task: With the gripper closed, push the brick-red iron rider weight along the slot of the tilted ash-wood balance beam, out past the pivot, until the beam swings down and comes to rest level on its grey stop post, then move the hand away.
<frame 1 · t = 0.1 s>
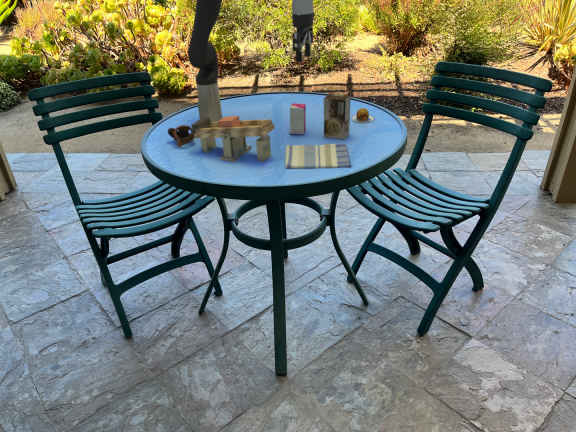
hand: (303, 59, 157), 29 cm above the table, tool pointing down, fingers open, 8 cm apart
stand: (236, 153, 158), on the table
pottery mug: (183, 143, 169), on the table
dish towel: (317, 159, 153), on the table
hamburger: (362, 121, 184), on the table
rider: (230, 129, 153), point 10 cm above the table, tilted 9°, touching beam
coffee box: (336, 136, 169), on the table
supplement box: (298, 133, 174), on the table
beam: (232, 126, 152), point 11 cm above the table, hinge at -9.0°, touching rider, stand
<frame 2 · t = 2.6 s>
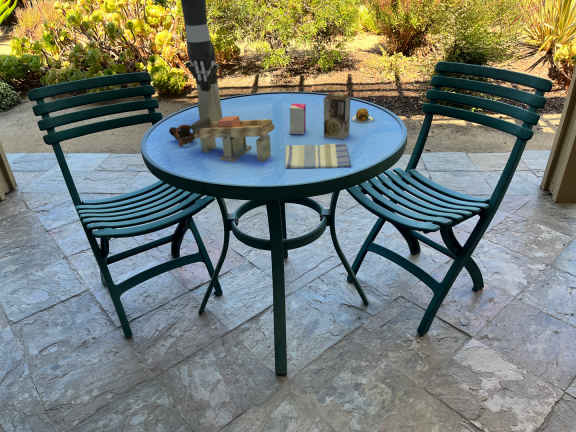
hand: (206, 90, 149), 23 cm above the table, tool pointing down, fingers closed
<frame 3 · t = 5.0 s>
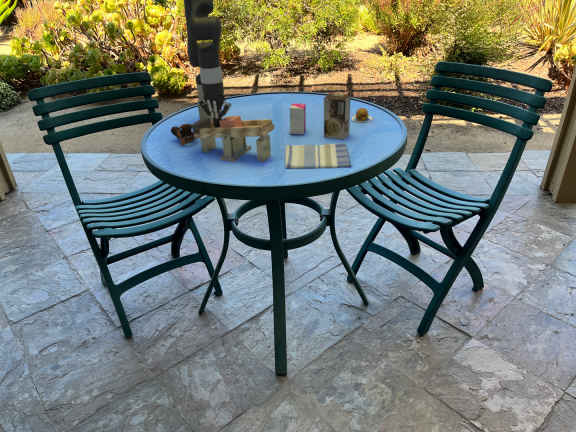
hand: (217, 127, 155), 10 cm above the table, tool pointing down, fingers closed
rider: (232, 129, 153), point 10 cm above the table, tilted 9°, touching beam, gripper
beam: (232, 126, 152), point 11 cm above the table, hinge at -9.0°, touching rider
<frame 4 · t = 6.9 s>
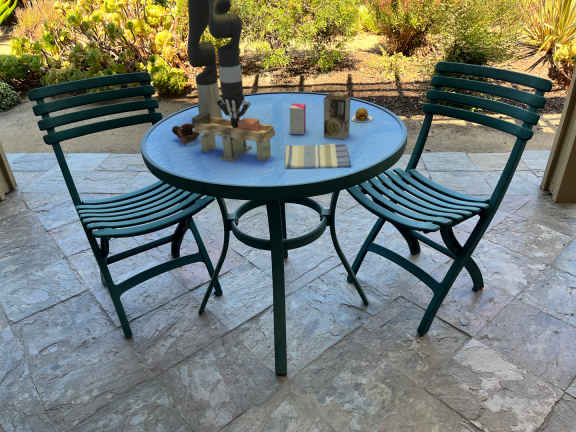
hand: (236, 127, 152), 11 cm above the table, tool pointing down, fingers closed
rider: (249, 131, 150), point 10 cm above the table, touching gripper
beam: (233, 126, 152), point 11 cm above the table, hinge at 0.4°, touching stand
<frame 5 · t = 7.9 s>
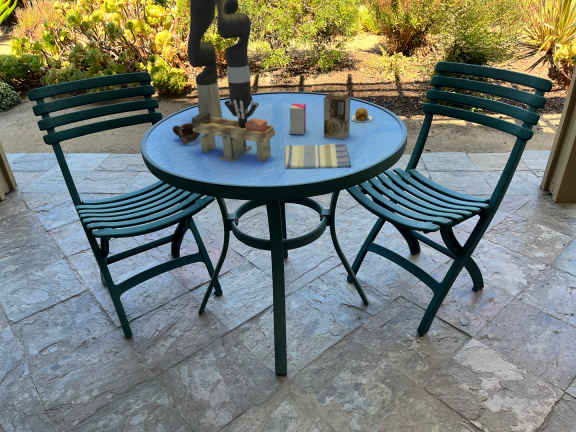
hand: (243, 127, 150), 11 cm above the table, tool pointing down, fingers closed
rider: (256, 132, 149), point 10 cm above the table, touching beam, gripper
beam: (233, 126, 152), point 11 cm above the table, hinge at 0.4°, touching rider, stand
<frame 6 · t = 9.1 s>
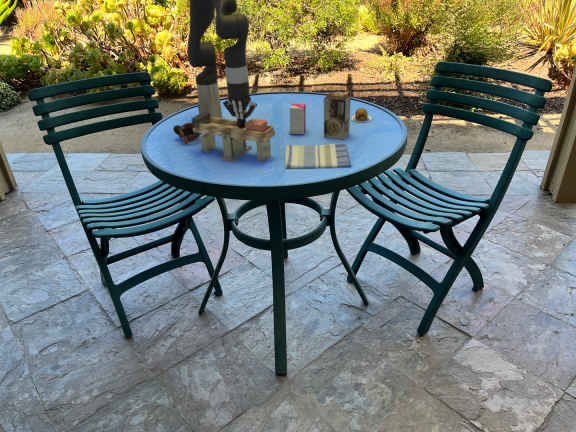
hand: (242, 128, 151), 11 cm above the table, tool pointing down, fingers closed
rider: (256, 132, 149), point 10 cm above the table, touching beam
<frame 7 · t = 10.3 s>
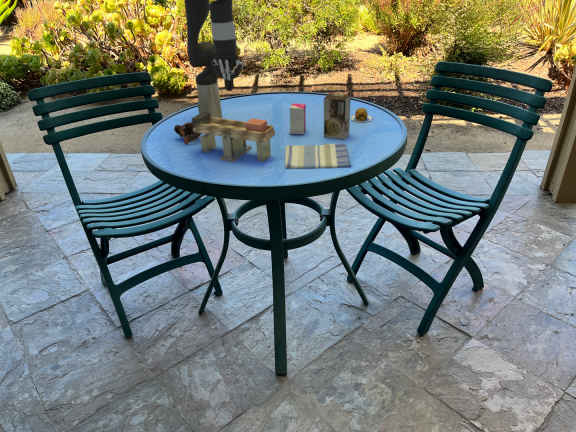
hand: (229, 90, 145), 24 cm above the table, tool pointing down, fingers closed
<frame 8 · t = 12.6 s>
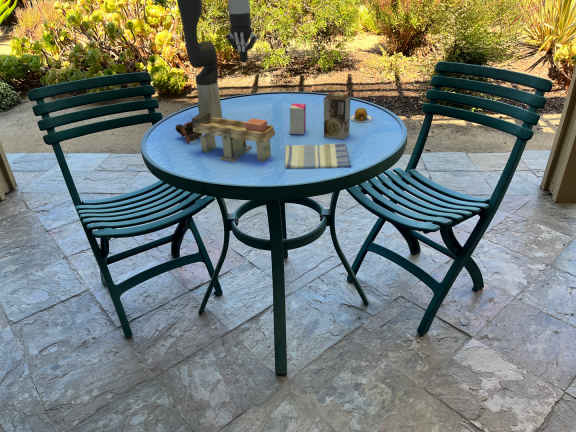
hand: (244, 61, 158), 29 cm above the table, tool pointing down, fingers closed
at the end: beam at +0° (first picture: -9°); rider inside the target area on the beam (1.0 cm from its centre), point 0.7 cm above the beam's base; rider tilted 0° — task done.
